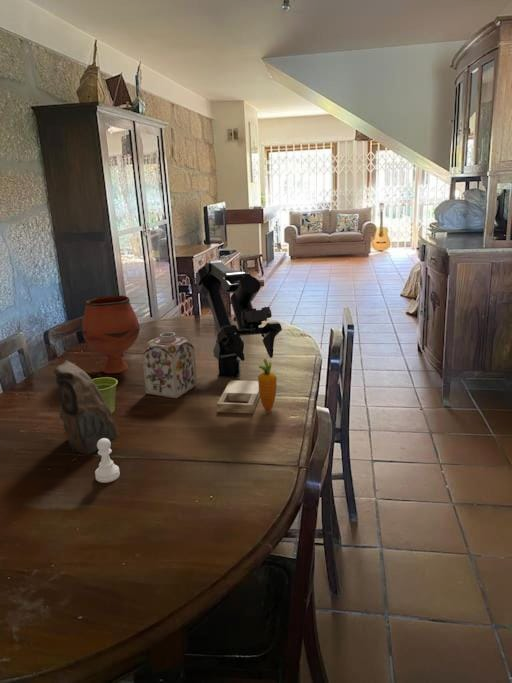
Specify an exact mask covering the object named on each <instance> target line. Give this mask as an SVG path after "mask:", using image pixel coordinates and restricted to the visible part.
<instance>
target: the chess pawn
mask: <svg viewBox="0 0 512 683" xmlns="http://www.w3.org/2000/svg"><path fill="white" fill-rule="evenodd" d="M111 444H112V442H111V441H109V439H107V438H102V439H100V440H99V441H98V442H97V448H98V449H97V450H98V451H97V455H99V456H100V457H101V459H100V462H99V464H98V468H96V469H95V471H94V474H95V481H98V483H102V484H103V483H111V482H115V481H116V480H118V478H119V477H120V475H121V473H120V467H119V466H118V465H116V464H115V463H114V460H112V459H111V458H110V454H111V453H112V449H111V446H112V445H111Z"/></svg>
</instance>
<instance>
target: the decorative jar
mask: <svg viewBox="0 0 512 683" xmlns="http://www.w3.org/2000/svg"><path fill="white" fill-rule="evenodd" d="M195 354H196V353H195V345H194V344H193V343H192V342H191V341H190V340H188V339H187V338H186V337H184V336H176V333H175V332H173V331H170V332H169V331H168V332H163V333H160V334H159V337H156V338H153V339H151V340H149V341H148V342H147V344H146V346H145V347H144V349H143V350H142V354H141V355H142V365H143V366H142V367H143V376H144V377H143V378H144V385H145V394H147V395H154V396H160V397H166V398H171V399H178V398H180V397H181V396H182V395H184V394H186V393H187V392H189V391H190V390H192V389H194V388H195V387H197V385H198V384H197V368H196V365H197V364H196V355H195Z"/></svg>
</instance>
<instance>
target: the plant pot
mask: <svg viewBox="0 0 512 683" xmlns="http://www.w3.org/2000/svg"><path fill="white" fill-rule="evenodd" d="M91 379H92V378H91ZM92 380H93V381H94V383H95V384H96V386H97V387H98V389H99V391H100V393H101V395H102V397H103V399H104V401H105V403H106V405H107V406H108V407H109V409H110V411H111V414H113V413H114V412H115V407H116V404H115V402H116V389H117V385H118V382H119V381H118V379H116V378H114V377H108V376H105V377H97V378H93V379H92Z"/></svg>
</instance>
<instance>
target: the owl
mask: <svg viewBox="0 0 512 683" xmlns="http://www.w3.org/2000/svg"><path fill="white" fill-rule="evenodd" d="M53 373H54V374H55V377H56V378H55V383H56V385H57V387H58V391H59V395H58V397H59V398H58V399H59V404H60V412H59V419H61V421H62V422H63V428H64V430H65V433H66V434H67V438H68V439H67V444H69V445H68V447H69V448H71V450H70V451H71V452H74V453H76V454H80V453H81V454H83V455H86V456H89V455H91V454H94V453H95V452H96V451H97V450H99V449H98V448H97V442H98V441H99V440H100V439H102V438H107V439H109V441H110V442H111V441H113V440H114V439H115V438H116V437H117V436H119V435H120V434H119V432H118V426H117V425H116V422H115V420H114V417H113V415H112V414H113V413H112V414H111V411H110V409H109V407H108V406H107V405H106V403H105V401H104V399H103V397H102V395H101V393H100V391H99V389H98V387H97V386H96V384H95V383H94V381H93V380H92V377H91V376H90V375H88V373H86V371H85V370H83V369H81V368H80V367H79V366H77V365H76V364H74V363H72V362H70V361H69V360H67V359H65V360H64V361H63V363H62V364H61V363H60V364H59V365H57V366H56V367H55V369H54V371H53Z"/></svg>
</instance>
